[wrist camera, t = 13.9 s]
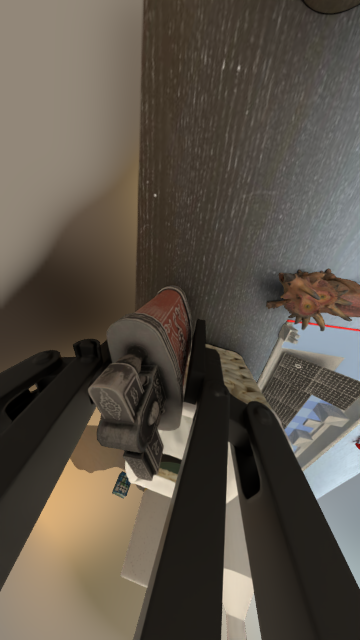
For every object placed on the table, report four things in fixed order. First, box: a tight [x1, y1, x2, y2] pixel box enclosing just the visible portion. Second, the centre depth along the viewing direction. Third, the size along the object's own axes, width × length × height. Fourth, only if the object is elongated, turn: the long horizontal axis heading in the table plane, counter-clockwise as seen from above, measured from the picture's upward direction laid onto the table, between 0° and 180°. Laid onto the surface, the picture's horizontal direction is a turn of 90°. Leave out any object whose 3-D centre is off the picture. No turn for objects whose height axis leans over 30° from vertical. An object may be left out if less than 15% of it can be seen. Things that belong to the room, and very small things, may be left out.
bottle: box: [222, 495, 254, 640], centre depth 36 cm, size 12×12×25 cm
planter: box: [121, 454, 182, 588], centre depth 36 cm, size 20×20×21 cm
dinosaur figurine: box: [266, 269, 360, 331], centre depth 15 cm, size 14×6×9 cm, turn 90°
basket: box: [125, 340, 293, 504], centre depth 23 cm, size 24×16×15 cm
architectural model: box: [257, 320, 360, 471], centre depth 27 cm, size 18×45×6 cm, turn 175°
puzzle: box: [112, 471, 131, 498], centre depth 62 cm, size 6×6×6 cm
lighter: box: [88, 286, 193, 481], centre depth 9 cm, size 8×3×10 cm, turn 8°
